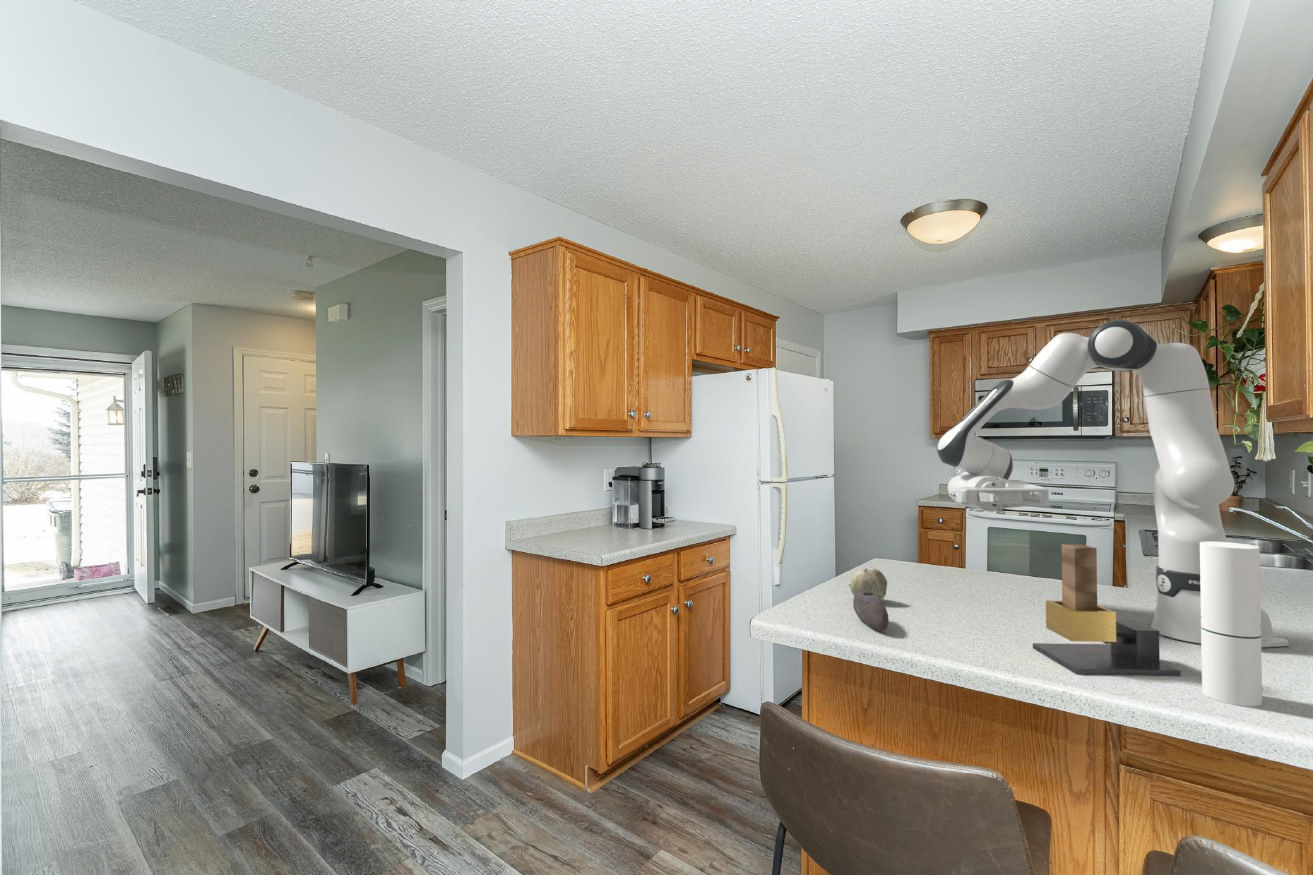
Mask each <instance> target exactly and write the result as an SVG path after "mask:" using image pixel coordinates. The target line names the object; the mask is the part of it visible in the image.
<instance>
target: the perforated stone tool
mask: <svg viewBox="0 0 1313 875" xmlns="http://www.w3.org/2000/svg"><path fill="white" fill-rule="evenodd" d="M852 603H853V610H854V612H855V615H857V617H858V619H859V620H860V621H861V622H862V623H864V625H866V626H868V627H870V628H871V629H872V630H874V631H876V632H885V631H887V628H888V626H889V614H888V610H887V608H886V606H885V604H884V603H883V601H882V600H880V599H879V598H878V597H877V596H876V595H875V594H873V593H872V592H870V591H868V590H858V591H857V592H856V593H855V595H853V602H852Z"/></svg>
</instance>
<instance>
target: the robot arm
mask: <svg viewBox="0 0 1313 875" xmlns="http://www.w3.org/2000/svg"><path fill="white" fill-rule="evenodd" d="M1095 368H1097V369H1103V370H1109V371H1112V372H1121V373H1124V372H1132V371H1133V372H1135V373H1136V374H1137V376H1138V377H1139V379H1140V382H1141V386H1142V392H1143V397H1144V398H1143V400H1144V406H1145V410H1146V417H1147V425H1148V430H1149V435H1150V436H1151V439H1152V443H1153V445H1154V448H1155V452H1156V457H1157V461H1158V464H1157V465H1156V467H1155V468H1154V470H1153V472H1152V477H1151V478H1152V491H1153V502H1154V503H1153V505H1154V510H1155V512H1154V513H1155V519H1156V525H1157V537H1158V538H1157V542H1158V544H1157V545H1158V548H1157V549H1158V565H1156V567H1155V568H1156V569H1155V579H1156V580H1155V583H1156V588H1157V597H1156V598H1157V599H1156V606H1155V609H1154V614H1153V618H1152V621H1151V624H1150V626H1149V627H1151V628H1153V629H1156V630H1158V631H1159V635H1161V636H1165V637H1168V638H1171V639H1175V640H1178V641H1179V640H1180V641H1185V642H1190V643H1195V644H1201V592H1200V542H1227V537H1226V533H1225V529H1224V527H1223V522H1222V517H1221V516H1222V515H1221V511H1220V506H1219V505H1220V504H1223V503H1224V502H1226V501H1227V500H1228V499H1229V498H1230V497H1231V495H1232V494H1233V492H1234V490H1235V478H1234V476H1233V474H1232V472H1231V467H1230V465H1229V462H1228V460H1229V459H1228V458H1227V457H1228V456H1227V454H1226V451H1225V448H1224V444H1223V441H1222V439H1221V437H1220V436H1221V435H1220V433H1219V431H1218V428H1217V422H1216V419H1215V414H1214V412H1215V411H1214V406H1213V401H1212V396H1211V394H1212V393H1211V389H1210V382H1209V379H1208V375H1207V372H1206V367H1205V365H1204V363H1203V361H1202V358H1201V355H1200V353H1199V351H1198V350H1197V349H1196V348H1195V347H1194V346H1193V345H1192V344H1188V343H1184V342H1183V343H1182V342H1169V343H1158V342H1157V341H1156V340H1155V339H1154V338H1153V337H1152V336H1151V335H1150V334H1149V332H1148V331H1147V330H1146V329H1145V328H1144V327H1143V326H1141V325H1139V324H1137V323H1135V322H1132V321H1130V320H1126V319H1113V320H1110V321H1106V322H1104V323H1102V324H1100V325H1099V326H1097V327H1096V328H1095V329H1094V330H1092V332H1091V333H1090V335H1089V336H1088V337H1087V336H1084V335H1081V334H1078V333H1074V332H1063V333H1059V334H1056V335H1055V336H1054V337H1053V338H1052V339H1051V340H1050V341H1048V343H1047V344H1046V345H1045V346H1043V347H1042V349H1041V350H1040V351H1039V352H1038V353H1037V355H1035V357H1034V358H1033V359H1032V361H1031V362H1030V363H1029V365H1028V366H1027V367H1026V369H1025V370H1023V371H1022V372H1021V373H1020V374H1019V375H1017V376H1015V377H1014V378H1011V379H1004V380H1002V381H1000V382H999V383H997V384H996V385H995V386H994V387H993V388H991V389H990V390H989V391H987V393H986V394H985V395H984V396H983V397H982V398H980V399H979V401H978V402H977V403H976V404H975V405H974V406H973V407H972V408H971V409H970V410H969V411H968V412H967V413H966V414H965V415H964V416H963V417H962V418H961V419H960V420H959V421H958V422H957V423H956V424H955V425H953V426H952V427H951V428H949V429H948V430H947V431H946V432H945V433H944V434H943V435H942V436H941V437H940V439H939V441H938V442H937V446H936V451H937V452H936V453H937V454H938V457H939V459H940V460H941V462H942V463H944V464H945V465H948V466H952V467H954V468H957V469H960V470H962V471H963V473H961V474H959V475H956V476H953V477H952V478H951V479H949V482H948V483H947V491H948V494H947V495H948V496H949V497H950V498H951V499H952V500H953V501H954V503H957V504H958V505H960V506H962V507H966V508H972V509H977V510H979V511H984V512H990V513H992V512H997V511H1000V510H1005V509H1011V508H1023V507H1026V506H1028V505H1046V504H1048V503H1049V501H1050V499H1049V498H1050V496H1049V494H1050V493H1049V489H1048V488H1047V487H1044V486H1039V485H1037V484H1036V485H1035V484H1031V483H1026V481H1025V480H1019V479H1017V480H1015V479H1010V477H1011V474H1012V472H1013V468H1014V463H1013V457H1012V455H1011V452H1010V450H1007V449H1005V448H1003V447H1001V446H999V445H997V444H995V443H993V442H990V441H988V440H986V439H984V438H982V437H979V436H977V435H976V433H977V432H978V431H980V429H981V428H982V427H984V425H985V424H986V423H987V422H988V421H989V420H990V419H991V418H992V417H993V416H994V415H995V414H997V413H998V412H1000V411H1002V410H1007V409H1026V410H1027V409H1028V410H1046V409H1050V408H1053V407H1055V406H1059V404H1060V403H1062V402H1063V401H1064V400H1065V399H1066V398H1067V397H1068V396H1069V394H1070V393H1071V392H1072V390H1073V389H1074V388H1075V387H1076V385H1077V384H1078V382H1079V381H1080V380H1081V379H1082V377H1083V376H1084V375H1085V374H1086V373H1088V371H1090V370H1092V369H1095ZM1260 625H1261V648H1274V647H1275V648H1277V647H1288V646H1290V643H1289V640H1288V639H1286V638H1285V637H1283V636H1282V635H1281V636H1280V635H1278V634H1276V633H1274V632H1273V627H1272V622H1271V617H1270V616H1269V614H1268V613H1267V612H1266V611H1265V610H1264V609H1262V608H1261V624H1260Z"/></svg>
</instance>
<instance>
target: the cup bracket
mask: <svg viewBox="0 0 1313 875" xmlns="http://www.w3.org/2000/svg"><path fill="white" fill-rule="evenodd" d="M1045 627H1046V629H1047V630H1049V631H1051V632H1052V633H1054V634H1056V635H1058V636H1060V637H1062V638H1065V639H1067V640H1068V641H1070V642H1087V643H1049V642H1047V643H1044V642H1043V643H1042V642H1041V643H1040V642H1039V643H1037V642H1033V643H1032V649H1034V650H1036V651H1037V652H1038V653H1041V654H1042V655H1044V656H1046V657H1047V658H1049V659H1050V660H1052V661H1053V662H1055V663H1057V664H1059V665H1060V666H1062V667H1064V668H1065V669H1067V670H1069V671H1070V672H1072V673H1073V674H1076V675H1090V676H1091V675H1094V676H1095V675H1098V676H1102V675H1103V676H1104V675H1105V676H1108V675H1109V676H1153V677H1154V676H1155V677H1156V676H1159V677H1181V674H1182V671H1181V670H1180V669H1179V668H1176V667H1175V666H1172V665H1169V664H1168V663H1165V662H1163V661H1161V660H1160V659H1161V657H1160V656H1161V654H1160V653H1161V652H1160V634H1159V631H1158V630H1156V629H1153V628H1151V627H1150V626H1149V625H1145V624H1144V623H1141V622H1139V621H1135V620H1134V619H1117V612H1116V611H1113V610H1111V609H1109V608H1106V607H1104V606H1101V605H1099V604H1097V611H1073V610H1070V609H1068V608H1066V607H1064V606H1062V600H1045ZM1088 642H1092V643H1088ZM1093 642H1097V643H1093ZM1098 642H1101V643H1098ZM1102 643H1103V644H1102Z"/></svg>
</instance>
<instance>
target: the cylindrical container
mask: <svg viewBox="0 0 1313 875" xmlns="http://www.w3.org/2000/svg"><path fill="white" fill-rule="evenodd" d="M1260 552H1261V551H1260V546H1257V545H1252V544H1248V543H1238V542H1231V541H1230V542H1228V541H1226V542H1200V592H1201V643H1200V644H1201V645H1200V646H1201V692H1202V694H1203V693H1204V694H1203V695H1204V696H1206V697H1208V698H1210V697H1211V698H1210V699H1213V700H1216V701H1219V702H1222V703H1226V704H1229V705H1235V706H1241V707H1251V708H1252V707H1253V708H1254V707H1255V708H1257V707H1262V706H1263V676H1262V674H1263V671H1262V670H1263V669H1262V666H1263V665H1262V664H1263V663H1262V647H1261V625H1260V624H1261V609H1262V608H1261V565H1260V564H1261V560H1260V558H1261V557H1260V555H1261V554H1260Z"/></svg>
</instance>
